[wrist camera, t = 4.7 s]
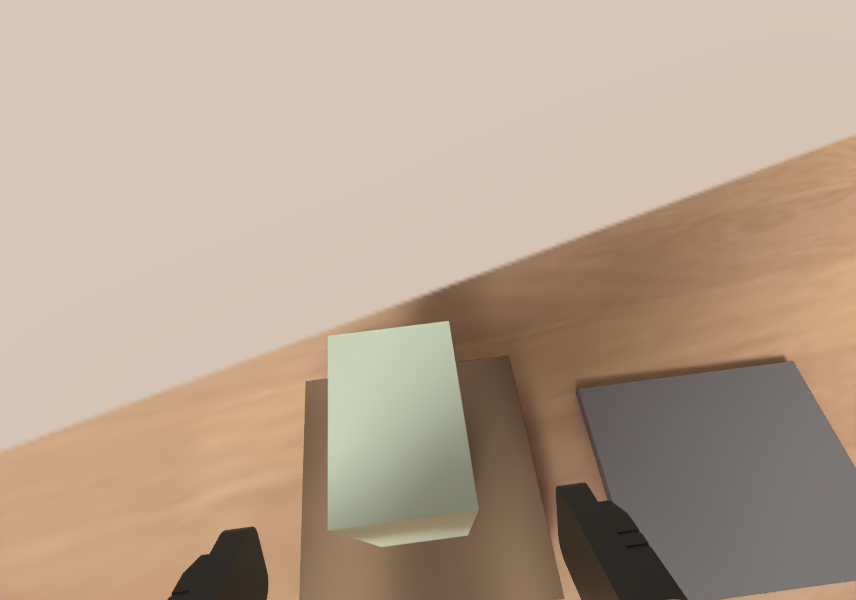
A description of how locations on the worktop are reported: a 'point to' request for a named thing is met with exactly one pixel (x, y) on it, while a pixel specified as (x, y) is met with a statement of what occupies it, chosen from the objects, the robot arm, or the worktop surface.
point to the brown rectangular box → (451, 557)
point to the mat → (729, 478)
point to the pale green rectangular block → (397, 437)
